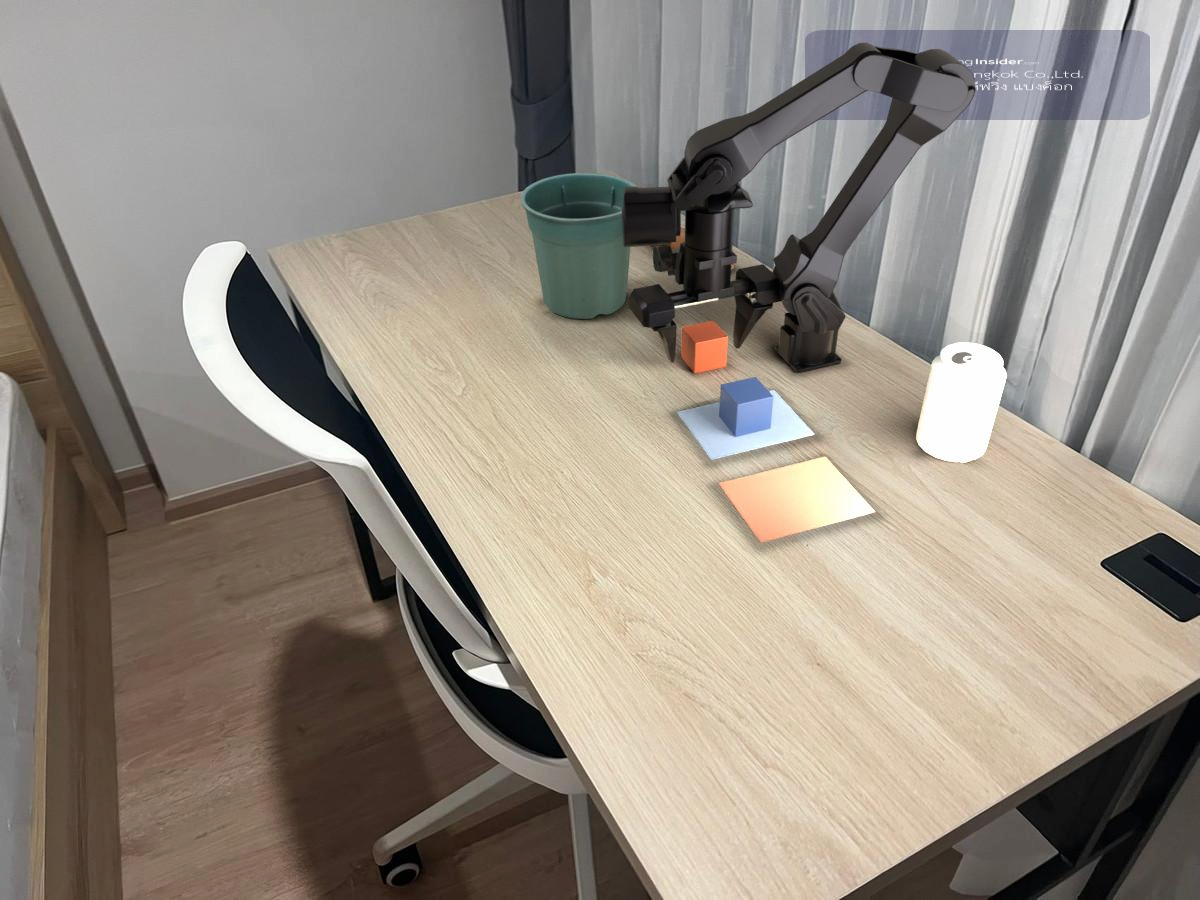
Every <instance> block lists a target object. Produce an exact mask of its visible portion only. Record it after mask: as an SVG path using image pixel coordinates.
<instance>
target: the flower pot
mask: <svg viewBox="0 0 1200 900" xmlns="http://www.w3.org/2000/svg"><path fill="white" fill-rule="evenodd" d="M625 187H638V186H637V185H636V184H635V183H633V182H632V181H630V180H628V179H625V178H623V177H620V176H616V175H611V174H606V173H596V172H576V173H573V172H572V173H564V174H558V175H557V174H556V175H553V176H549V177H546V178H542V179H540V180H537V181H536V182H533V183H531V184H530V185H528V186H527V187H525V188H524V189H523V191H522V192H521V194H520V199H519V200H520V204H521V206H522V207H523V209H524V211H525V213H526V217H527V219H526V220H527V225H528V229H529V230H530V232H531V235H532V241H533V246H534V253H535V257H536V263H537V271H538V276H539V281H540V287H541V293H542V294H541V295H542V299H543V303H544V304H545V305H546V306H547V307H548V310H549V311H550V312H552V313H553V314H556V315H558V316H561V317H564V318H569V319H575V320H578V319H579V320H587V319H594V318H595V317H597V316H598V315H604V316H607V315H611V314H614V313H615V312H617V311H618V310H619V309H620V308H622V307H623V305H624V304H625V303H626V299H627V293H628V281H629V270H630V269H629V268H630V258H631V256H630V255H631V247H624V245H623V231H622V208H623V200H624V188H625Z"/></svg>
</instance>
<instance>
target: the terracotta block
mask: <svg viewBox="0 0 1200 900" xmlns="http://www.w3.org/2000/svg"><path fill="white" fill-rule="evenodd" d="M680 337H681V339H680V340H681V341H680V357H681V359H682V360H683V361H684V363H685V364H686V365H687V366H688V367H689V369H690V370H691V371H692V372H693V373H694V374H700V373H705V372H708V371H712V370H713V371H714V370H719V369H723V368H727V362H728V361H727V360H728V345H729V336H728V335H727V334H726V333H725V332H724V330H723V329H722V328H721V327H720V326H719V325H718V324H717V323H716V322H715V321H714V320H709V321H704V322H700V323H695V324H690V325H685V326H681V336H680Z"/></svg>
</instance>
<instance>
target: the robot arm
mask: <svg viewBox="0 0 1200 900" xmlns="http://www.w3.org/2000/svg"><path fill="white" fill-rule="evenodd" d="M868 91H869V92H872V93H877V94H881V95H884V96H887V97H889V98H891V101H890V105H889V108H888V109H889V110H888V114H887V117H886V120H885V122H884V125H883V126H882V128H881V130H880V131H879V133H878V134H877V136H876V137H875V139H874V140H873V141H872V143H871V145H870V146H869V147H868V149H867V151H866V152H865V153H864V155H863V157H862V158H861V159H860V161H859V162H858V164H857V165H856V167H855V168H854V170H853V171H852V173H851V174H850V175H849V177H848V179H847V180H846V181H845V183H844V185H843V186H842V188H841V189H840V191H839V192H838V194H837V195H836V197H835V198H834V200H833V201H832V203H831V205H830V206H829V207H828V209H827V210H826V212H825V213H824V215H823V216H822V217H821V219H820V221H819V222H818V223H817V225H816V226H815V228H814V229H813V230H812V231H811V232H810V233H808V234H806V235H805V236H803V237H801V238H798V237H797V236H796V235H794V234H793V233H792V234H790V235H789V236H788V238H787V240H786V242H785V244H784V246H783V249H782V250H781V251H780V252H779V254H778V255H776V256H775V257H773V260H772V261H773V263H774V266H773V267H774V268H773V269H772V270H771V269H770V268H769V267H767V266H766V265H765V264H764V263H761V264H755V265H752V266H745V267H741V268H739V269H737V270H736V271H735V280H731V277H732V271H731V264H733V265H735V264H737V258H738V256H737V254H736V253H735V252H734V251H733V243H734V227H735V210H736V209H738V210H739V209H751V208H752V207H753V205H754V204H753V200H752V199H751V196H750V194H749V192H748V191H747V190H746V189H744V187H742V186H741V184H740V182H741V181H742V180H744V178H745V177H746V176H748V175H749V174H750V173H751V172H752V171H753V170H754V169H755V168H756V166H757V165H758V164H759V163H760V161H761V160H762V159H763V158H764V157H765V156H766V154H769V152H770V151H772V149H774V148H775V147H777V146H779V145H780V144H782V143H784V142H785V141H787V140H789V139H790V138H792V137H793V136H795V135H797V134H798V133H800V132H802V131H803V130H805V129H806V128H808V127H810V126H811V125H813V124H815V123H816V122H819V120H821V119H823V118H825V117H826V116H828V115H830V114H831V113H833V112H834V111H837V110H838V109H839V108H841V107H843V106H844V105H846V104H848V103H850V102H851V101H852V100H854V99H856V98H858V97H859V96H861V95H862V94H864V93H866V92H868ZM976 91H977V89H976V80H975V76H974V74H973V71H972V70H971V69H970V68H968V67H967V66H966V65H965V64H964V63H962V62H961V61H960V60H959V59H957V58H956V57H954V56H953V55H952V54H950V53H949V52H947V51H946V50H943V49H941V48H930V49H927V50H924V51H921V52H918V53H917V52H913V51H909V50H905V49H902V48H901V49H900V48H890V47H881V46H876V45H874V44H872V43H870V42H869V43H868V42H859V43H855V44H854V45H852V46H851V47H850V48H849V49H847V51H846V52H845V53H843V54H842V55H840V56H838V57H837V58H836V59H834V60H832V61H831V62H829V63H827V64H826V65H824V66H823V67H821V68H820V69H818V70H817V71H815V72H814V73H811V74H810V75H809V76H807V77H805V78H804V79H802V80H800V81H799V82H797V83H796V84H794V85H792V86H791V87H789V88H787V89H786V90H784V91H783V92H781V93H780V94H778V95H777V96H775V97H773V98H772V99H770V100H769V101H767V102H765V103H763V104H762V105H761V106H759V107H757V108H756V109H754V110H752V111H750V112H747V113H745V114H742V115H738V116H735V117H734V116H733V117H729V118H723V119H722V120H720V121H717V122H715V123H713V124H710V125H707V126H706V127H703V128H701V129H699V130H696V131H695V132H694V133H693V134H692V135H691V136H690V137H689V138H688V140H687V142H686V145H685V148H684V152H683V153H684V157H682V159H681V160H680V162H679V163H678V164H677V166H676V167H675V168H674V170H673V171H672V172H671V174H670V175H669V176H668V178H667V186H653V187H639V186H637V187H625V188H624V200H623V208H622V231H623V245H624V247H630V248H632V247H633V248H634V247H650V246H655V247H652V264H653V269H654V271H655V272H657V273H665V272H667V276H669V277H672V276H674V282H675V283H676V284H677V285H678V286H680V285H682V286H683V287H682V288H683V289H682V290H678V291H674V292H673V291H672V292H667V291H666V290H665V289H664V288H663V287H662V285H661V284H660V283H656V284H651V285H647V286H641V287H636V288H633V289H632V291H630V293H629V295H628V309H629V311H630V312H631V313H632V314H633V316H634V317H635V319H637V321H638V322H639V324H640V325H641V326H642V327H643V328H647V329H651V331H653V332H654V333H655V332H656V333H658V336H659V338H660V341H661V344H662V346H663V349H664V351H665V354H666V357H667V359H668V361H669V362H670V363H671V364H672V363H673V364H674V363H675V360H676V354H677V332H678V324H677V322H675V318H676V309H680V308H686V307H690V306H696V305H700V304H705V303H712V302H716V301H719V300H723V299H724V300H725V299H729V298H734V302H735V310H734V311H735V312H734V322H733V331H732V343H733V347H734V348H735V349H736V350H739V349H741V347H742V345H743V344H744V342H745V341H746V339H747V338H748V336H749V334H750V333H751V331H752V330H753V329H754V328H755V326H756V324H757V323H758V322H759V320H761V318H762V317H763V316H764V315H765V313H766V312H767V310H771V309H773V307H774V304H775V303H781V304H782V307H783V308H784V309H785V310H786V312H784V317H783V318H784V319H783V324H782V325H781V326H780V329H779V339H778V344H777V345H775V346H774V351H775V352H776V353H777V354H778V355H779V356H780V357H781V358H782V359H783V360H784V361H785V362H786V363H787V364H788V365H789V366H790V367H791V368H792V370H794V371H795V372H796V373H799V374H800V373H804V372H810V371H814V370H819V369H822V368H827V367H832V366H836V365H840V364H842V358H841V357H840V355H838V354H837V353H836V351H837V345H838V337H839V332H840V331H839V330H840V328H841V326H842V325H843V323H844V321H845V319H846V313H845V312H844V310H843V307H842V306H841V304H840V302H839V300H838V298H837V296H836V294H835V292H834V290H835V288H836V286H837V284H838V282H839V278H840V274H841V270H842V268H843V267H842V266H843V262H844V259H845V255H846V254H847V252H848V250H850V248H851V247H852V245H853V243H854V242H855V241H856V240H857V238H858V236H859V235H860V234H861V232H862V231H863V230H864V228H865V226H866V225H867V224H868V222H869V221H870V219H871V218H872V216H873V215H874V214H875V212H876V211H877V210H878V208H879V206H880V205H881V203H882V202H883V201H884V200H885V198H886V197H887V195H888V194H889V192H890V191H891V190H892V188H893V187H894V186H895V184H896V182H897V181H898V179H899V178H900V176H901V175H902V174H903V173H904V171H905V170H906V168H907V167H908V165H909V164H910V162H911V161H912V160H913V158H914V157H915V156H916V154H917V152H918V151H919V150H920V149H921V148H922V147H924V146H925V145H926V144H927V143H929V142H930V141H932V140H934V139H935V138H936V137H938V136H939V135H941V134H943V133H944V132H945V131H946V130H948V129H949V127H950V126H951V125H952V124H953V123H954V122H955V121H956V120H957V119H958V118H959V117H960V116H961V115H962V114H963V112H965V110H966V109H967V108H968V107H969V106H970V104H971V102H972V101H973V99H974V97H975V94H976ZM682 211H683V212H684V213H685V214H684V228H685V243H680V248H677V249H671V246H670V245H671V242H676V236H680V233H681V227H682ZM659 245H661V246H659Z"/></svg>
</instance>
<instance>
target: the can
mask: <svg viewBox="0 0 1200 900" xmlns="http://www.w3.org/2000/svg"><path fill="white" fill-rule="evenodd" d="M1006 380H1007V371H1006V369H1005V368H1004V359H1003V357H1002V356H1001V354H1000V353H999V352H997V351H995V349H993V348H991V347H988V346H986V345H983V344H979V343H975V342H955V343H951V344H948V345H946V346H944V347H943V348H942V349H941V350H940V353H939V355H937V356H935V358H934V359H933V360H932V361H931V364H930V370H929V373H928V379H927V383H926V387H925V391H924V396H923V401H922V404H921V410H920V414H919V419H918V424H917V428H916V434H915V440H916V443H917V444H918V447H920V448H921V449H922V450H923V452H925V453H926V454H928V455H929V456H932V457H934V458H936V459H939V460H941V461H944V462H949V463H950V462H951V463H961V464H964V463H968V462H971V461H974V460H977V459H979V458H980V457H982V456H984V454H985V452H986V451H987V448H988V445H989V441H990V438H991V434H992V430H993V426H994V423H995V419H996V416H997V413H998V409H999V405H1000V402H1001V399H1002V395H1003V391H1004V388H1005V384H1006Z"/></svg>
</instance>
